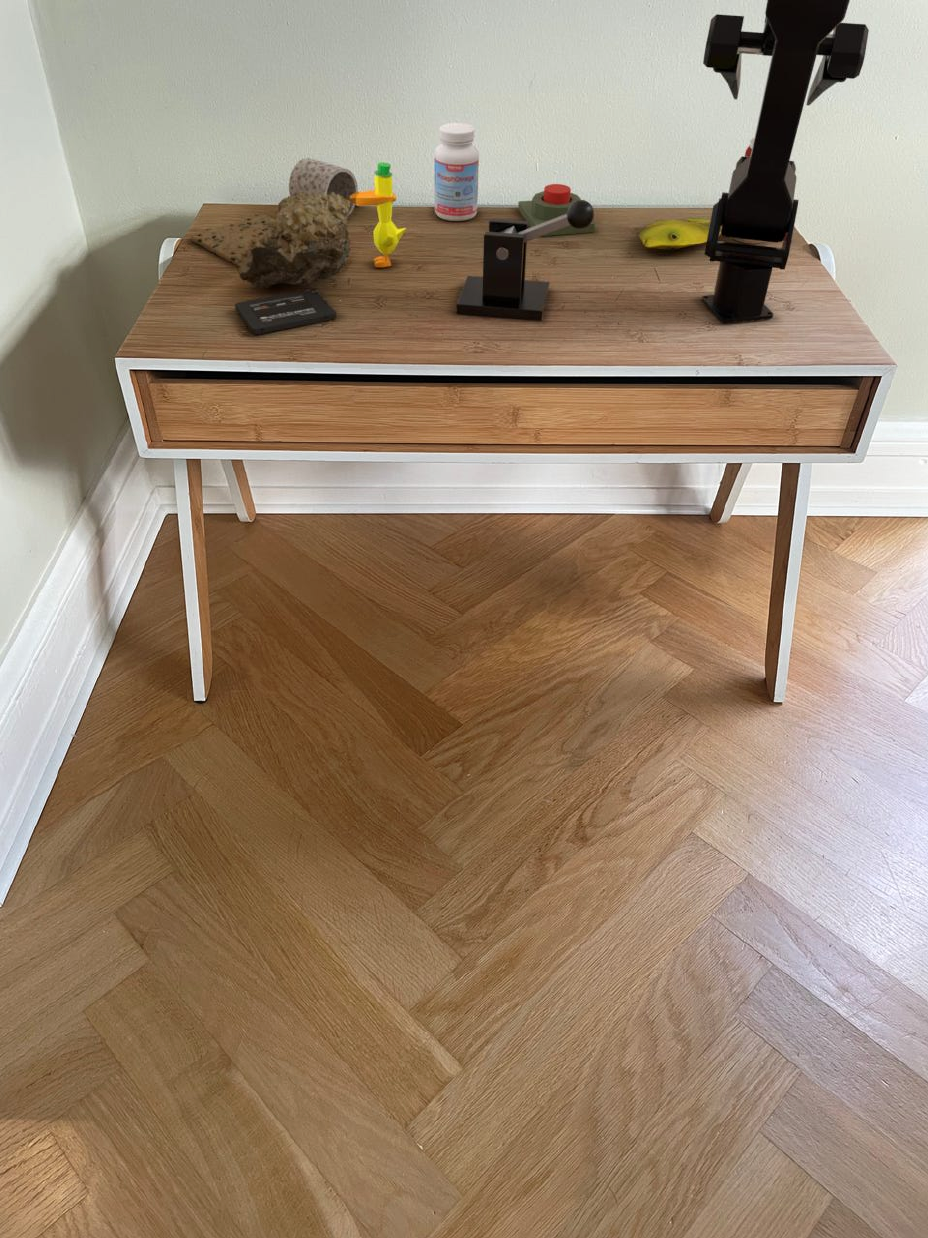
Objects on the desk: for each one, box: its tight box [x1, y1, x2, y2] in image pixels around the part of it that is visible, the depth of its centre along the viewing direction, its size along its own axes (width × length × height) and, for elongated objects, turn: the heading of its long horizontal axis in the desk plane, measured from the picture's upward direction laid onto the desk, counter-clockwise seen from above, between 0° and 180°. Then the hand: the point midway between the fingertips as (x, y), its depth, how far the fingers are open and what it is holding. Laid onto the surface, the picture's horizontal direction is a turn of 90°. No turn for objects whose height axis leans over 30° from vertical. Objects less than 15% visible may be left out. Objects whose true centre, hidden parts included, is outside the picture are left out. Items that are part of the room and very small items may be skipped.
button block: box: [517, 190, 595, 237], centre depth 130 cm, size 10×8×3 cm
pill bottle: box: [433, 122, 480, 222], centre depth 129 cm, size 6×6×11 cm
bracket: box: [456, 218, 550, 322], centre depth 109 cm, size 10×8×9 cm
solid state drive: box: [234, 288, 337, 335], centre depth 109 cm, size 7×10×1 cm
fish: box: [638, 216, 722, 251], centre depth 126 cm, size 3×16×10 cm
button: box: [543, 183, 572, 205], centre depth 129 cm, size 4×4×2 cm
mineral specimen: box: [234, 192, 352, 290], centre depth 113 cm, size 14×13×10 cm
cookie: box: [191, 213, 276, 268], centre depth 124 cm, size 12×12×1 cm
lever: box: [498, 199, 595, 243], centre depth 106 cm, size 12×3×3 cm, turn 80°
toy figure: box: [350, 161, 407, 268], centre depth 116 cm, size 7×4×12 cm, turn 102°
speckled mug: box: [288, 157, 359, 218], centre depth 131 cm, size 10×7×7 cm
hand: (771, 99), depth 123 cm, fingers open, 9 cm apart
